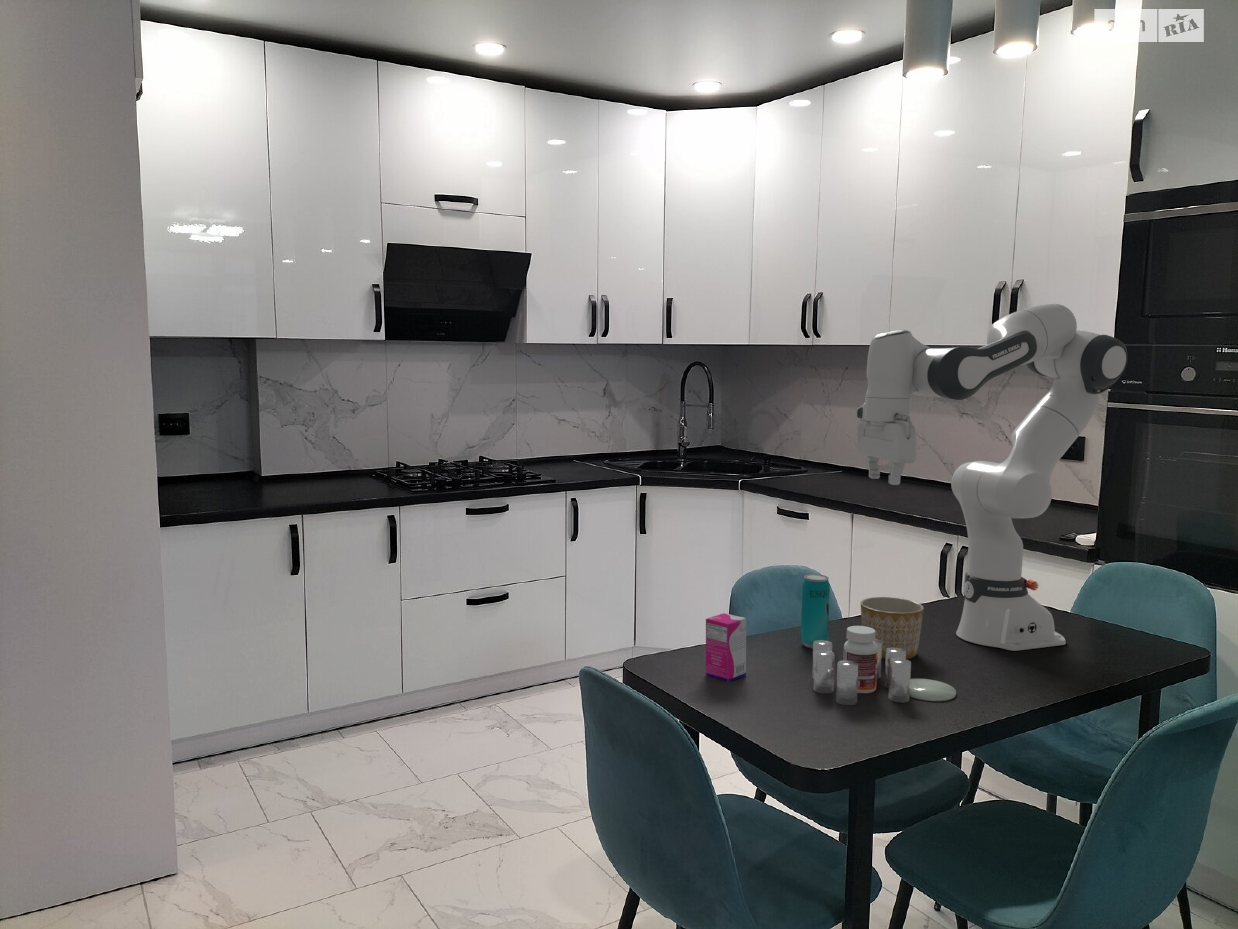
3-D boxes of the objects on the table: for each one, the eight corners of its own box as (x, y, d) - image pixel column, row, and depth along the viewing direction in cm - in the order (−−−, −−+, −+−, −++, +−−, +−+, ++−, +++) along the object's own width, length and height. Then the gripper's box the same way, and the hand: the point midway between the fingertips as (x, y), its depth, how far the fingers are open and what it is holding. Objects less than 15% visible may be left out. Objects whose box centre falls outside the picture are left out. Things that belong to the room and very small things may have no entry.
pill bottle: (882, 693, 167) (885, 633, 165) (851, 695, 165) (854, 635, 164) (866, 681, 173) (868, 624, 171) (836, 684, 171) (838, 625, 170)
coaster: (938, 680, 173) (939, 677, 173) (966, 699, 164) (966, 696, 163) (889, 683, 172) (889, 679, 172) (914, 702, 162) (914, 699, 162)
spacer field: (885, 672, 178) (886, 637, 177) (923, 701, 162) (925, 664, 162) (799, 676, 175) (800, 641, 174) (830, 706, 160) (831, 668, 159)
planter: (932, 653, 190) (934, 605, 188) (902, 667, 181) (904, 616, 180) (878, 640, 199) (880, 593, 197) (847, 652, 190) (848, 604, 189)
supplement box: (722, 668, 179) (724, 612, 178) (746, 675, 175) (748, 618, 174) (704, 675, 175) (705, 617, 174) (728, 683, 171) (729, 624, 170)
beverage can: (830, 649, 192) (832, 580, 190) (803, 649, 192) (805, 580, 190) (824, 641, 197) (827, 574, 196) (798, 640, 197) (800, 573, 196)
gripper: (927, 415, 170) (922, 488, 172) (881, 410, 190) (877, 475, 192) (895, 415, 169) (891, 488, 171) (852, 409, 189) (849, 475, 191)
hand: (883, 481), depth 181 cm, fingers open, 8 cm apart
